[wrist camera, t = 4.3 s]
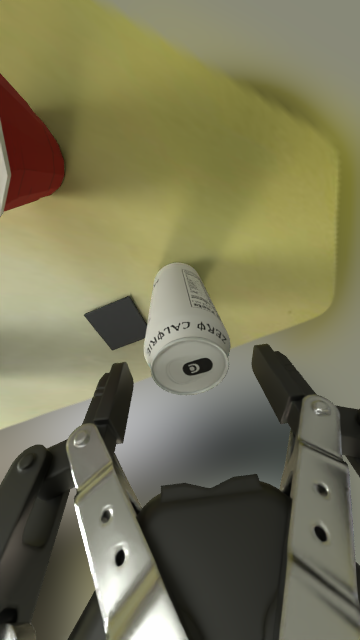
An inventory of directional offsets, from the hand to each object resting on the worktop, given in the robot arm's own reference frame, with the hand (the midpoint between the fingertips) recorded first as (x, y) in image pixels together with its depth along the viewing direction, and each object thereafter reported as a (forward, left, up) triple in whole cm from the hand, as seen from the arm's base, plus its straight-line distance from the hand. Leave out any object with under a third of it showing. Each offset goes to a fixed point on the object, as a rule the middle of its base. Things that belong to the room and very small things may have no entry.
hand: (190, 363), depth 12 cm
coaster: (-9, -5, -15) cm, 18 cm away
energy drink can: (0, 0, -15) cm, 15 cm away
